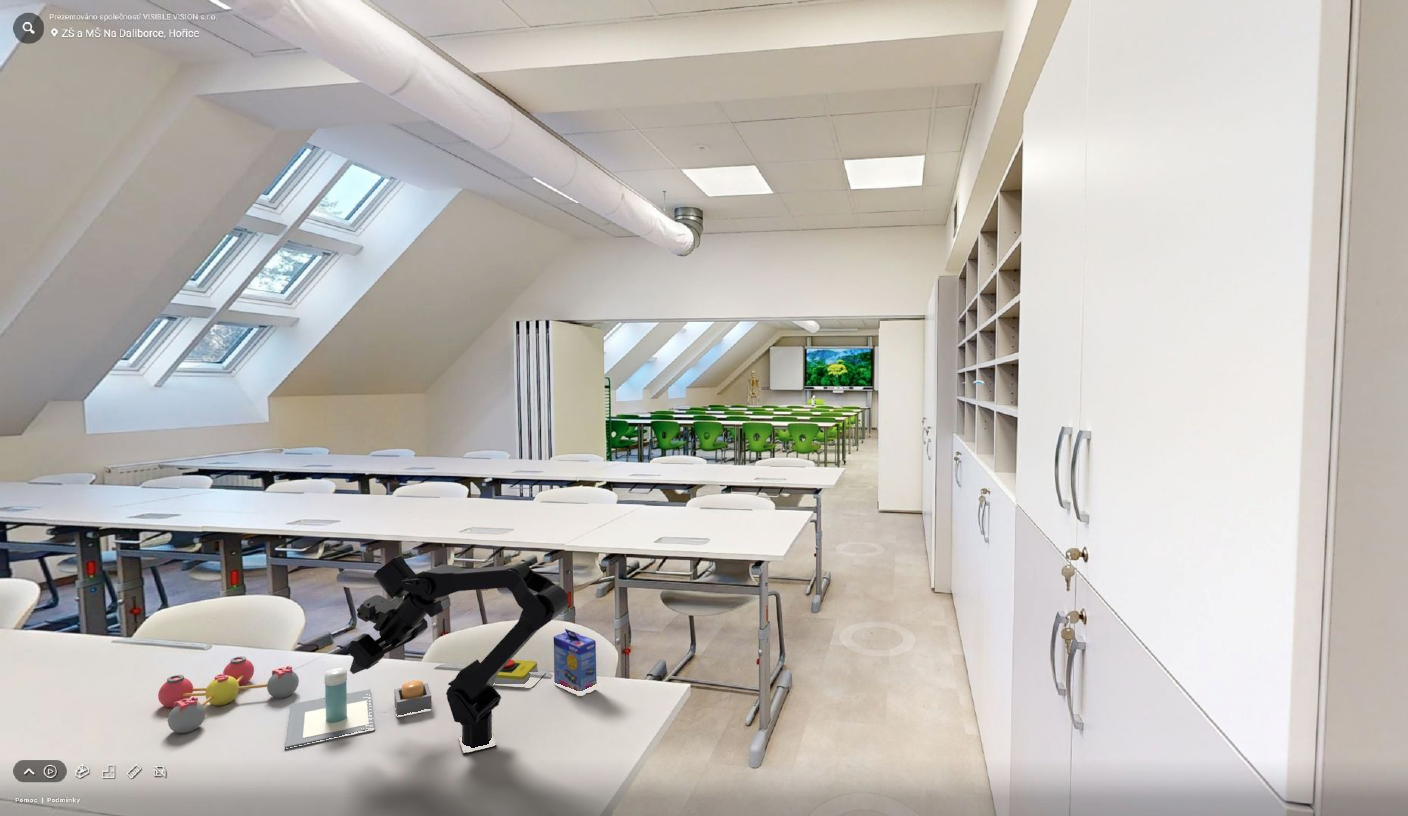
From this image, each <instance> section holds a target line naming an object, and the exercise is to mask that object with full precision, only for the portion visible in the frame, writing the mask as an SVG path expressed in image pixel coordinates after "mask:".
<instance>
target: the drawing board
mask: <svg viewBox="0 0 1408 816" xmlns="http://www.w3.org/2000/svg"><path fill="white" fill-rule="evenodd" d="M371 690H372V689H370V688H369V689H364V690H358V691H353V692H347V717H346V718H345V719H344V720H342V721H340V722H335V723H328V722H326V703H325V697H321V698H315V699H311V700H304V701H299V702H294V703H293V702H292V703H290V706H289V714H288V720H287V727H286V736H285V741H284V750H285V749H286V748H290V747H294V746H299V745H304V744H307V743H312V742H316V741H320V740H326V739H329V738H334V737H339V736H342V735H345V734H351V733H354V732H356V731H357V732H358V731H365V730H368V729H366V728H375V722H374V721H375V720H374V719H375V718H374V709H373V702H369V700H371V699H372V692H371ZM366 694H368V695H366ZM369 694H371V696H369ZM363 697H371V699H368V698H363ZM365 700H366V701H365ZM367 700H368V701H367ZM367 703H368V704H367ZM369 703H372V705H369ZM367 706H368V707H367ZM369 706H372V707H369ZM369 709H373V710H369ZM369 712H373V713H370V715H373V716H372V717H369V716H368V715H369ZM368 718H374V719H372V720H368ZM369 722H373V723H369ZM365 725H373V727H372V726H371V727H370V726H367V727H366V726H365ZM361 728H362V729H361ZM363 728H364V729H363Z"/></svg>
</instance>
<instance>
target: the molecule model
mask: <svg viewBox="0 0 1408 816" xmlns="http://www.w3.org/2000/svg"><path fill="white" fill-rule="evenodd" d="M254 674H255V666H254V663H252V661H250V660H249V659H247V657H245V656H235V657H233V658H231V659H230V662H229V663H228V664H227V665H226V666H225V668H224V669H223V670H222V673H220V674H217V675H214V679H212V681H210V683H208V685H207V686H206V687H194V685H193V683H192V681H191V680H189V679H188V678H185V676H184V674H176V675H172V676H169V677H167V679H166V681H165V682H164V683H163V684H162V685H161V687H160V688H159V690H158V694H157V698H158V702H159V703H160V704H161V705H163V706H164V707H166V708H173V709H171V711H170V713H169V715H168V718H167V725H168V727H169V729H170V730H171V731H172V732H174V733H176V734H187V733H191V732H193V731H195V730H196V729H198V728H199V726H201V725H202V723H203V722H204V720H205V718H206V709H205V705H207V704H208V703H209V704H211V705H213V706H217V707H219V706H225V705H228V704H230V702H232V701H234V699H236V697H237V696H238V694H239V691H240V690H247V689H248V690H249V689H259V688H266V690H267V693H268V694H269V695H270V696H271V697H272V698H274V699H285V697H286V698H287V697H290V696H292V695H293V694H294V693H295V692H296V690H297V689H298V686H299V683H300V679H299V676H298V674H297V673H296V672H295V671H294V670H293V667H292V666H290V665H288V666H286V667H279V668H276V669H273V670H271V676H270V677H269V679H268V681H267V683H263V684H262V683H261V684H255V685H253V684H251V685H246V684H248V682H250V681H251V680H252V678H253V676H254ZM198 697H205V698H206V699H205V700H204V701H203V702H199V698H198Z"/></svg>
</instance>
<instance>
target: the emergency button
mask: <svg viewBox="0 0 1408 816" xmlns="http://www.w3.org/2000/svg"><path fill="white" fill-rule="evenodd" d="M529 672H545V671H542V670H538V662H537V661H535V660H524V659H523V660H522V659H511V660H510V661H509V662H508V663H507V664H506V665H505V666H504V667H503V668H502V669H501V671H500V672H499V673H498V674H497V676H496V679H495V682H494V683H495V684H525V683H526V682H527V681H528V680H529V678H530V675H531V674H530V673H529Z"/></svg>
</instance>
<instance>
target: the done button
mask: <svg viewBox="0 0 1408 816" xmlns="http://www.w3.org/2000/svg"><path fill="white" fill-rule="evenodd" d="M423 684H424V682H423V681H422V680H411V681H407V682H405V683H403V684H402V685H401V688H402V700H404V699H409V698H414V697H419V696H423Z"/></svg>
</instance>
